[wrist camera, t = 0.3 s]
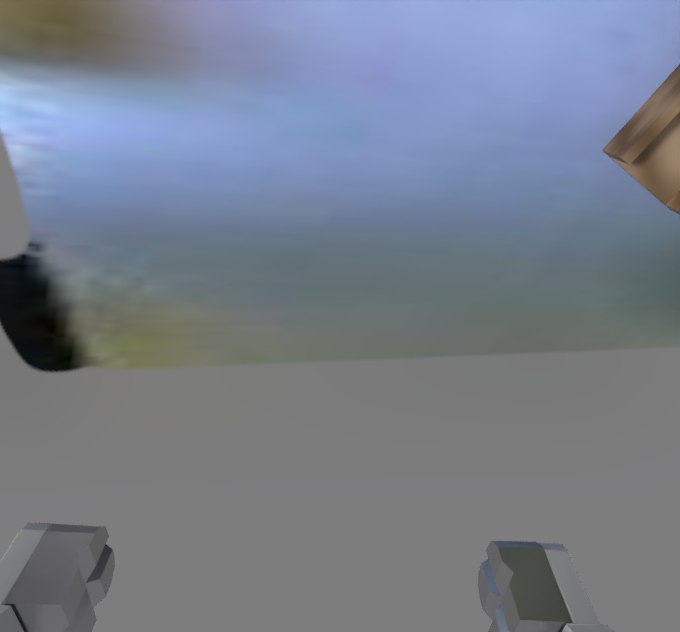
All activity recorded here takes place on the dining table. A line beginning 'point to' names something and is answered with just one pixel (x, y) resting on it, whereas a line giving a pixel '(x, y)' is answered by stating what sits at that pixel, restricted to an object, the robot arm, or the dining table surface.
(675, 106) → the bay
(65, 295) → the dining table surface
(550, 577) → the robot arm
